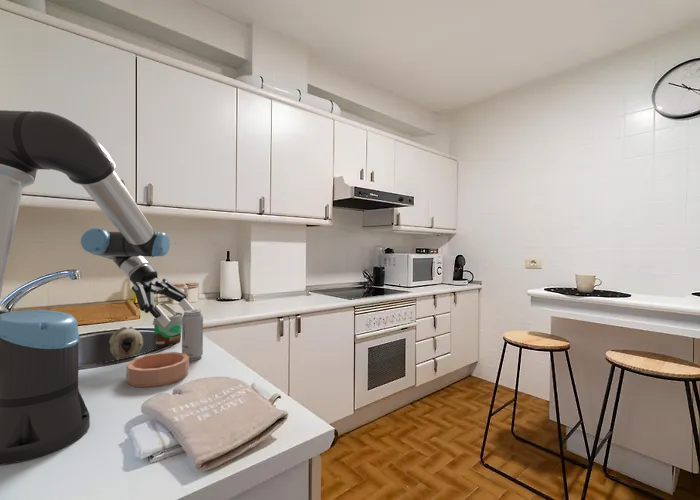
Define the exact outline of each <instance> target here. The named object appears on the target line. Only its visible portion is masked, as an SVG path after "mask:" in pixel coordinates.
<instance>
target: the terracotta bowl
mask: <svg viewBox="0 0 700 500" xmlns="http://www.w3.org/2000/svg"><path fill="white" fill-rule="evenodd" d="M189 370H190V360H189V356H188V355H186V354H185V353H182V352H177V351H168V352H167V351H166V352H157V353H151V354H146V355H142V356H140V357H136V358H133V359H131V361H129V362H128V363H127V364H126V379H127V380H126V381H127V384H128V386H129V387H132V388H137V389H150V388H160V387H164V386H168V385H172V384H175V383H177V382H180V381H182V380H184V379H185V378H186V377H187V376H188V375H189Z"/></svg>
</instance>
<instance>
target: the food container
mask: <svg viewBox="0 0 700 500" xmlns="http://www.w3.org/2000/svg"><path fill="white" fill-rule="evenodd" d="M183 315H184V313H182V312H179V311H177V312H175V314H174V315H166V316H167V317H168V318H169V319H170V320H171V321H170V322H169V324H168V325H167V326H166V327H163V326H162V325H161V324H160V323H159V321H158V320H157V319H156V318H153V321H152V325H153V326H154V338H155V346H156V347H166V346H165V345H169V344H174V345H176V344H175V343H177V344H179V343H181V340H182V316H183ZM169 346H170V345H169Z"/></svg>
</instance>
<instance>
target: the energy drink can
mask: <svg viewBox="0 0 700 500" xmlns="http://www.w3.org/2000/svg"><path fill="white" fill-rule="evenodd" d="M203 347H204V315H203V313H202V310H201V309H195V310H187V311H184V310H183V316H182V329H181V353H185V354H186V355H188V356H189V361H195V360H196V361H197V360H199V359H200V358H202V356H203V354H204V353H203V352H204V349H203Z"/></svg>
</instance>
